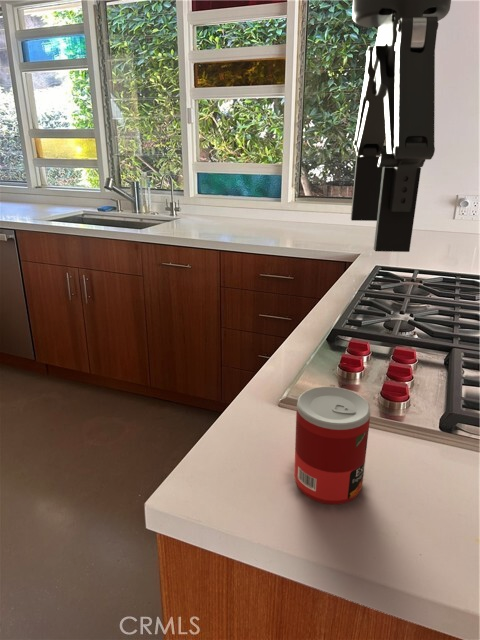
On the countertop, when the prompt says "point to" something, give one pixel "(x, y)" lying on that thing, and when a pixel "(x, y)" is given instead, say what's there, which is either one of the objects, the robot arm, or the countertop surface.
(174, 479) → the countertop surface
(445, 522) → the countertop surface
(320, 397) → the canned food
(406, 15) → the robot arm
